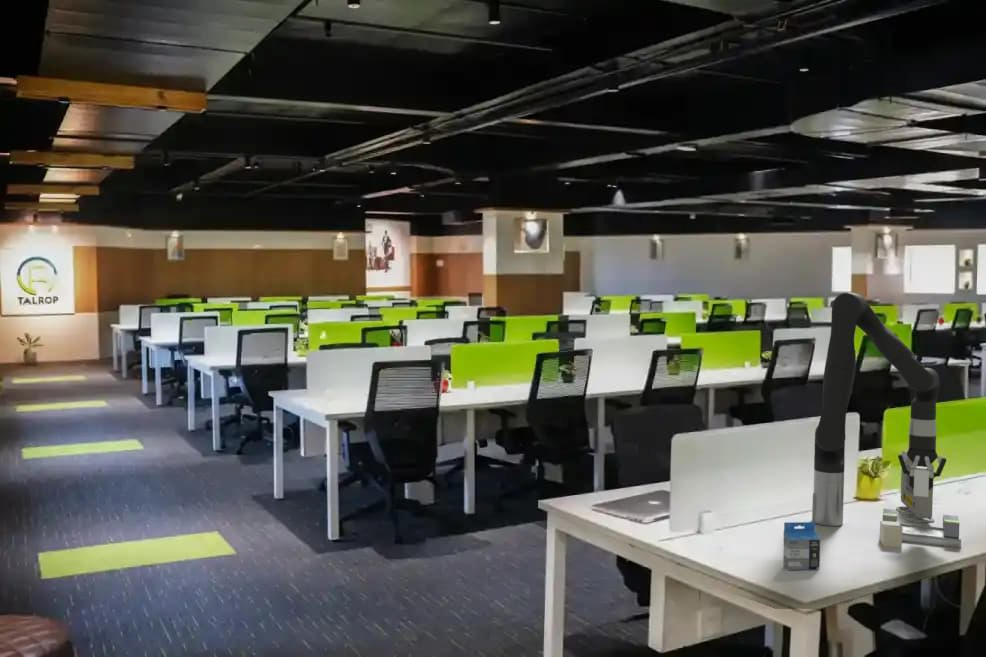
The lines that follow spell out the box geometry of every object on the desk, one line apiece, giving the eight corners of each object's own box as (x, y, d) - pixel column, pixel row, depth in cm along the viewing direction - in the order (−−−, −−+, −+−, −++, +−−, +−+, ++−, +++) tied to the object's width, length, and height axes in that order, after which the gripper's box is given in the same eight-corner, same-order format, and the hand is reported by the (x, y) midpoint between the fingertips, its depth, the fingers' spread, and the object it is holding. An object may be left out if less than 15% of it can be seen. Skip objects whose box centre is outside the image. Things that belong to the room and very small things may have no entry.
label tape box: (788, 570, 243) (789, 525, 243) (782, 566, 247) (783, 521, 247) (819, 570, 244) (821, 525, 243) (813, 565, 248) (815, 521, 247)
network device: (939, 525, 291) (941, 464, 290) (910, 524, 293) (912, 463, 292) (918, 506, 316) (920, 450, 315) (892, 505, 318) (893, 449, 317)
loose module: (913, 495, 274) (914, 469, 274) (913, 491, 280) (914, 466, 279) (928, 497, 273) (929, 470, 272) (927, 492, 278) (928, 467, 278)
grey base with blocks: (880, 538, 275) (880, 515, 275) (881, 528, 287) (881, 506, 287) (960, 547, 266) (961, 524, 266) (958, 536, 278) (959, 514, 278)
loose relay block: (883, 546, 267) (884, 525, 267) (879, 540, 274) (880, 520, 274) (901, 547, 266) (902, 527, 266) (897, 541, 273) (898, 521, 273)
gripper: (897, 433, 275) (895, 489, 276) (949, 436, 269) (947, 493, 270) (897, 429, 282) (895, 484, 282) (948, 433, 276) (946, 488, 277)
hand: (921, 488), depth 276 cm, fingers closed on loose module, 4 cm apart
